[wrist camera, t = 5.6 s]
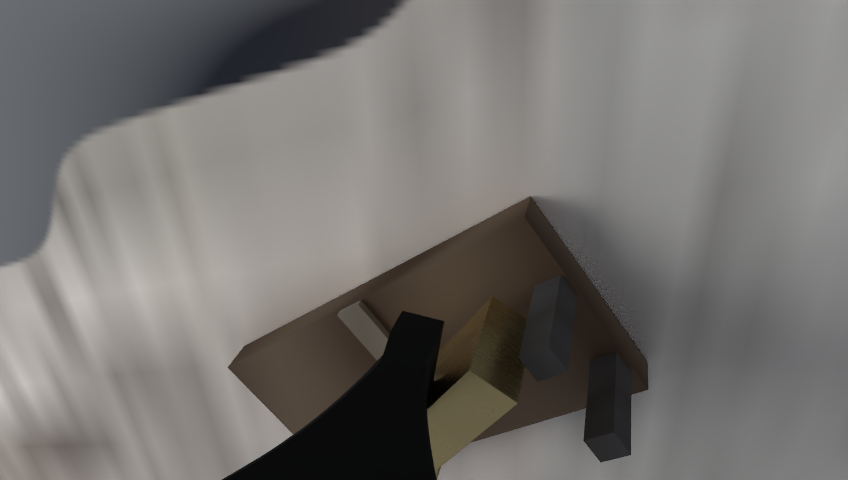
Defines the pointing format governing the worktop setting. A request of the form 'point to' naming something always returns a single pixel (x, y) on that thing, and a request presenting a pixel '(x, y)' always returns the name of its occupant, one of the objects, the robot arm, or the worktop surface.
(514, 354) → the bar
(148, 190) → the worktop surface
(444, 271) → the plate
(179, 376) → the worktop surface
